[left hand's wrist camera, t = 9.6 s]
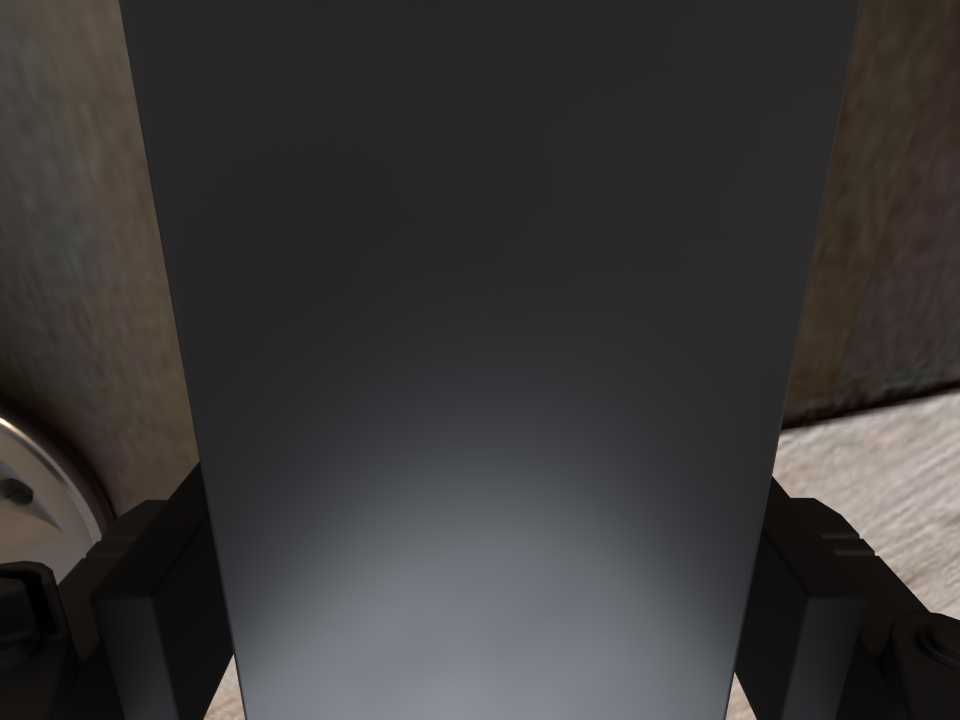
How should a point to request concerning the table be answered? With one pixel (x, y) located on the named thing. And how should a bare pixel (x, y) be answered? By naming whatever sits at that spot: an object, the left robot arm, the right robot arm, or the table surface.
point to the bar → (488, 334)
